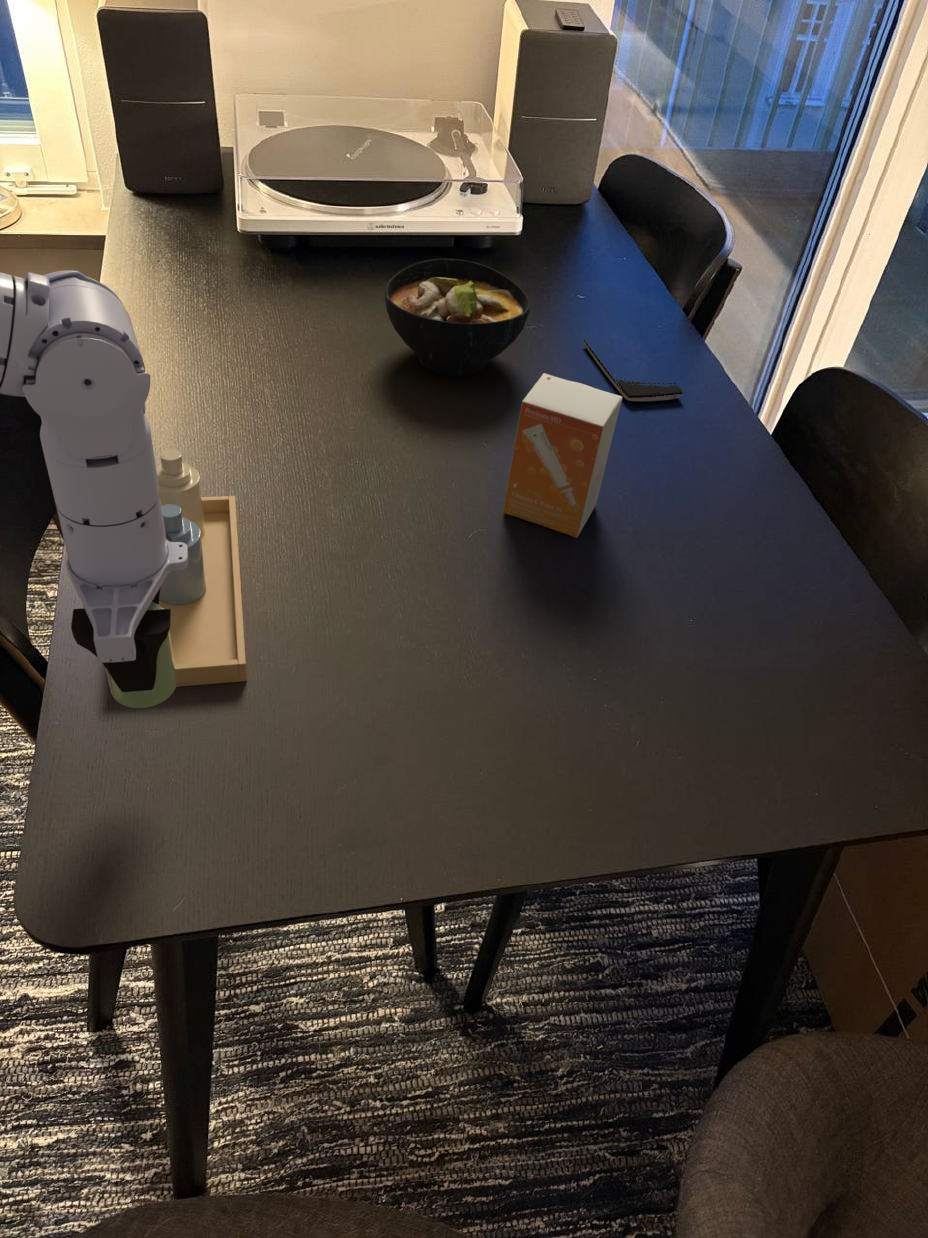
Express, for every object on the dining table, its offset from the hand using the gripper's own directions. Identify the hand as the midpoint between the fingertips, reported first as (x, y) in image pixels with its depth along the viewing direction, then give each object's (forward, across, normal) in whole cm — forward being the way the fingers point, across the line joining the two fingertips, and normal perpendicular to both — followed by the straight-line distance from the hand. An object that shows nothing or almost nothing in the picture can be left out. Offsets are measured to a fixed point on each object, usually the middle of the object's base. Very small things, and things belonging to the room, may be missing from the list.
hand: (138, 660), depth 65 cm
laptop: (+10, +54, -55) cm, 78 cm away
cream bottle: (+9, +25, -2) cm, 27 cm away
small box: (+10, +26, -38) cm, 47 cm away
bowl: (+10, +57, -33) cm, 67 cm away
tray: (+9, +17, -2) cm, 20 cm away
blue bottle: (+9, +17, -2) cm, 19 cm away
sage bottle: (+2, 0, 0) cm, 2 cm away
